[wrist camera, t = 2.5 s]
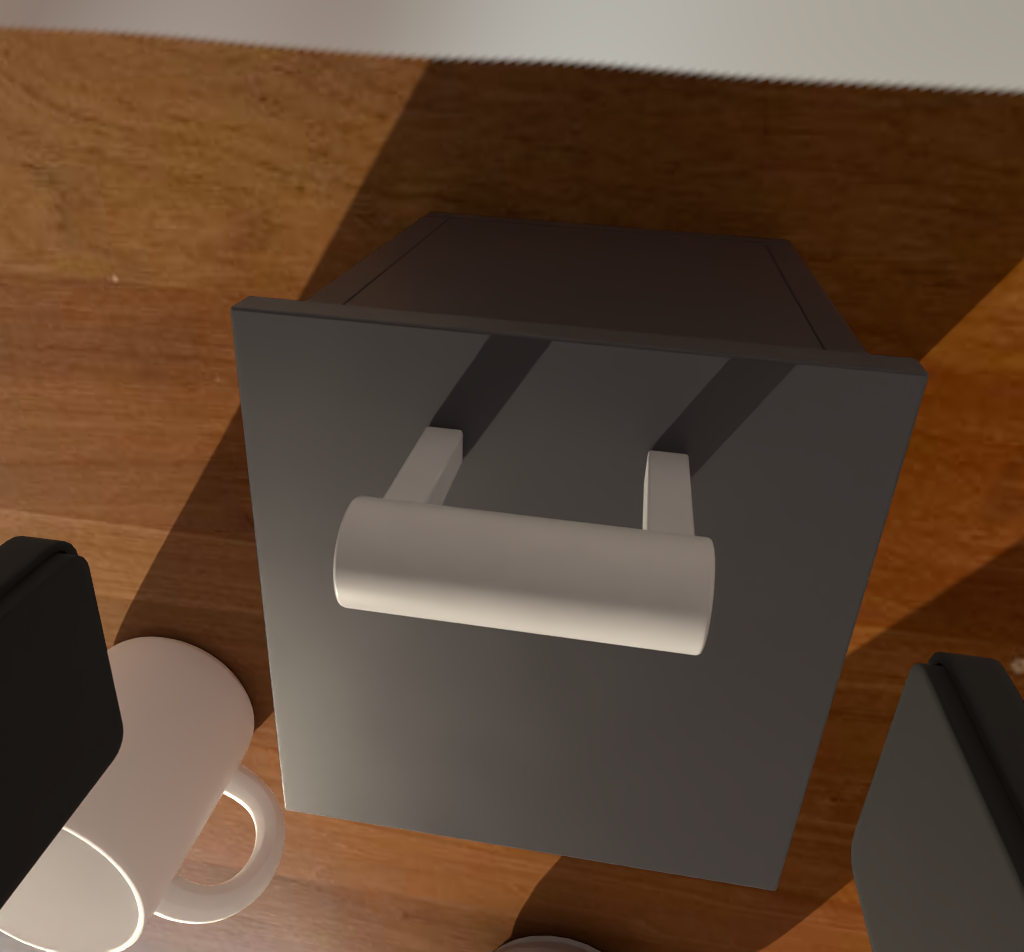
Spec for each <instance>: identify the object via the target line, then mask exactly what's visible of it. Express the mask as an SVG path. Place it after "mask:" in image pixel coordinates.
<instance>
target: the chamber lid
mask: <svg viewBox="0 0 1024 952" xmlns="http://www.w3.org/2000/svg"><path fill="white" fill-rule="evenodd" d="M231 318H232V327H233V336H234V346H235V355H236V364H237V373H238V382H239V392H240V401H241V410H242V419H243V429H244V438H245V447H246V456H247V465H248V475H249V484H250V493H251V502H252V512H253V521H254V530H255V539H256V548H257V558H258V567H259V576H260V585H261V595H262V604H263V613H264V622H265V631H266V641H267V650H268V659H269V668H270V678H271V687H272V696H273V705H274V714H275V724H276V733H277V742H278V751H279V761H280V770H281V779H282V788H283V797H284V807H285V809H286V810H290V811H296V812H302V813H308V814H314V815H320V816H326V817H332V818H338V819H344V820H350V821H356V822H362V823H368V824H374V825H380V826H386V827H392V828H398V829H404V830H410V831H416V832H423V833H429V834H435V835H441V836H447V837H453V838H459V839H465V840H471V841H477V842H483V843H489V844H495V845H501V846H507V847H513V848H519V849H525V850H531V851H537V852H543V853H549V854H555V855H561V856H567V857H573V858H579V859H586V860H592V861H598V862H604V863H610V864H616V865H622V866H628V867H634V868H640V869H646V870H652V871H658V872H664V873H670V874H676V875H682V876H688V877H694V878H700V879H706V880H712V881H718V882H724V883H730V884H736V885H742V886H749V887H755V888H761V889H767V890H773V891H775V890H776V889H777V886H778V883H779V879H780V876H781V873H782V869H783V866H784V863H785V859H786V856H787V852H788V849H789V846H790V842H791V839H792V835H793V832H794V829H795V825H796V822H797V819H798V815H799V812H800V808H801V805H802V802H803V798H804V795H805V792H806V788H807V785H808V781H809V778H810V775H811V771H812V768H813V765H814V761H815V758H816V754H817V751H818V748H819V744H820V741H821V738H822V734H823V731H824V727H825V724H826V721H827V717H828V714H829V711H830V707H831V704H832V700H833V697H834V694H835V690H836V687H837V684H838V680H839V677H840V673H841V670H842V667H843V663H844V660H845V657H846V653H847V650H848V646H849V643H850V640H851V636H852V633H853V630H854V626H855V623H856V619H857V616H858V613H859V609H860V606H861V603H862V599H863V596H864V592H865V589H866V586H867V582H868V579H869V576H870V572H871V569H872V565H873V562H874V559H875V555H876V552H877V549H878V545H879V542H880V538H881V535H882V532H883V528H884V525H885V522H886V518H887V515H888V511H889V508H890V505H891V501H892V498H893V495H894V491H895V488H896V484H897V481H898V478H899V474H900V471H901V468H902V464H903V461H904V457H905V454H906V451H907V447H908V444H909V441H910V437H911V434H912V430H913V427H914V424H915V420H916V417H917V414H918V410H919V407H920V403H921V400H922V397H923V393H924V390H925V387H926V383H927V380H928V372H927V371H926V370H925V369H924V368H923V367H922V365H921V364H920V363H919V362H918V361H917V360H916V359H914V358H906V357H895V356H885V355H874V354H863V353H853V352H842V351H831V350H820V349H810V348H799V347H788V346H778V345H767V344H756V343H746V342H735V341H724V340H714V339H703V338H692V337H682V336H671V335H660V334H649V333H639V332H628V331H617V330H607V329H596V328H585V327H575V326H564V325H553V324H543V323H532V322H521V321H510V320H500V319H489V318H478V317H468V316H457V315H446V314H436V313H425V312H414V311H404V310H393V309H382V308H372V307H361V306H350V305H339V304H329V303H318V302H307V301H297V300H286V299H275V298H265V297H254V296H249V297H247V298H245V299H244V300H242V301H240V302H239V303H237V304H235V305H234V306H232V307H231Z"/></svg>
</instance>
